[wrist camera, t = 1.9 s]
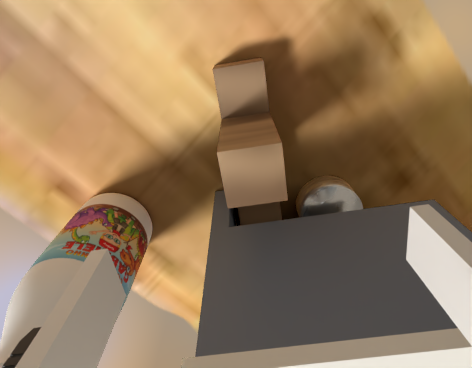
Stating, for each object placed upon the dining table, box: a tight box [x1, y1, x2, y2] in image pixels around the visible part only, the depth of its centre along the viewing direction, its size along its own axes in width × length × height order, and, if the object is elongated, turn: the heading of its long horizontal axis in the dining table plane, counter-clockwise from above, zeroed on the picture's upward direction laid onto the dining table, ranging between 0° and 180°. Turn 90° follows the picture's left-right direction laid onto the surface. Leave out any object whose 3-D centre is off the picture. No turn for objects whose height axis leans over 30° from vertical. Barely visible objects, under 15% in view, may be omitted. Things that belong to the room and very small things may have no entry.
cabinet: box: [181, 190, 472, 368], centre depth 27 cm, size 15×19×20 cm
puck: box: [296, 175, 363, 218], centre depth 33 cm, size 6×6×3 cm
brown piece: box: [213, 57, 288, 226], centre depth 28 cm, size 22×4×11 cm, turn 9°
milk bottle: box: [0, 193, 152, 368], centre depth 26 cm, size 8×8×20 cm
